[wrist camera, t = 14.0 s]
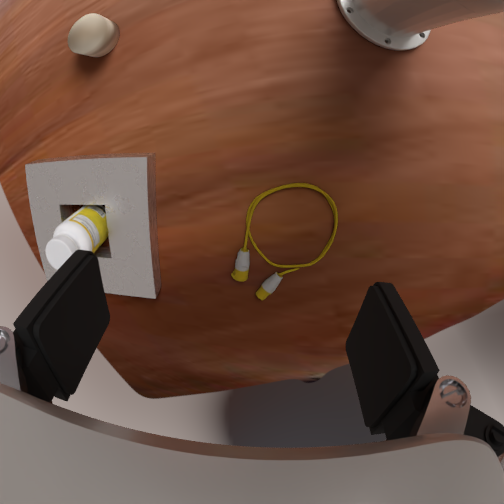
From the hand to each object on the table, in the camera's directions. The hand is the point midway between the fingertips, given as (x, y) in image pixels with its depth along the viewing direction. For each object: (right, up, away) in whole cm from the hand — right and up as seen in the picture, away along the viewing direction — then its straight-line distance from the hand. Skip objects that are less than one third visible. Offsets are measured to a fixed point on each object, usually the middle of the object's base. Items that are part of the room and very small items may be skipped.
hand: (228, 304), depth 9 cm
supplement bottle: (-20, +6, +25) cm, 32 cm away
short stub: (-17, +27, +14) cm, 35 cm away
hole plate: (-20, +6, +25) cm, 32 cm away
